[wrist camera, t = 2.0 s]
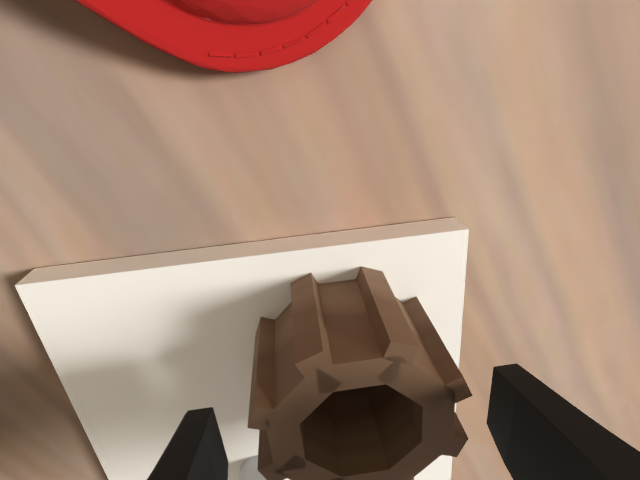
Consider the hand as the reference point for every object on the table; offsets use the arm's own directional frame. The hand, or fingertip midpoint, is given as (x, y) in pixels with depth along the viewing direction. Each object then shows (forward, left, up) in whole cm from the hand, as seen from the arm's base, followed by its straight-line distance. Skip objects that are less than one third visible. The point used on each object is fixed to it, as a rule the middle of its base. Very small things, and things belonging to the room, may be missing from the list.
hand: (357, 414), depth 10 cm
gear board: (+2, +7, -4) cm, 8 cm away
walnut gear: (0, 0, -3) cm, 3 cm away
